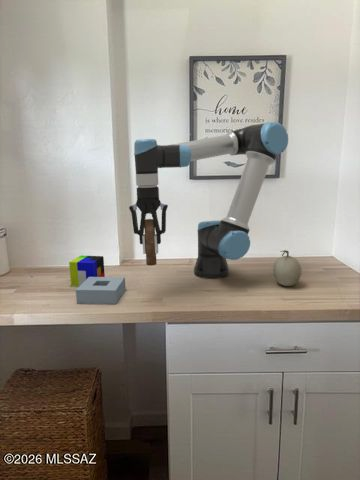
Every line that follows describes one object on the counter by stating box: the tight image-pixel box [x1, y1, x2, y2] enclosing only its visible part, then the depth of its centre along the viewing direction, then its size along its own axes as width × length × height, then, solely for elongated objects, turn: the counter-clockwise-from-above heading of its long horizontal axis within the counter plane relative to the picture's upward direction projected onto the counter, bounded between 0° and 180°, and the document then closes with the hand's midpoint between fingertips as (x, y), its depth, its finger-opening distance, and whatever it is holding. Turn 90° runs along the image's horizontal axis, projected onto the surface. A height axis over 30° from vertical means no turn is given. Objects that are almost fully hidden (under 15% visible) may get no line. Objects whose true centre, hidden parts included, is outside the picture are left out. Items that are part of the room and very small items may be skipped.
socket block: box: [75, 276, 126, 305], centre depth 128 cm, size 14×14×5 cm
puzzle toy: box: [68, 254, 106, 287], centre depth 142 cm, size 10×10×10 cm
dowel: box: [144, 218, 157, 266], centre depth 124 cm, size 4×4×16 cm
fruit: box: [272, 249, 302, 287], centre depth 136 cm, size 10×12×15 cm
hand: (150, 252), depth 124 cm, fingers closed on dowel, 3 cm apart
